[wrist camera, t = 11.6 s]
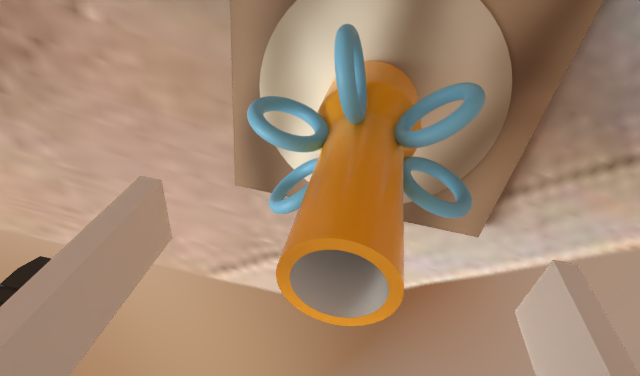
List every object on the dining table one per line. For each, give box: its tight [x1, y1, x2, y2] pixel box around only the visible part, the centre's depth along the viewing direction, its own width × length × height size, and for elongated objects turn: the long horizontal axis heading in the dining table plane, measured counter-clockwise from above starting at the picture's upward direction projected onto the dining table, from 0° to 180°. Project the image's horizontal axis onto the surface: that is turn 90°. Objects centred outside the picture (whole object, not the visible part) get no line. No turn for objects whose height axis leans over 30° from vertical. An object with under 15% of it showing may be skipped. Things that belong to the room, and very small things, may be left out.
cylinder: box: [247, 24, 486, 326], centre depth 17 cm, size 12×10×15 cm
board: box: [230, 0, 604, 237], centre depth 18 cm, size 20×29×8 cm
